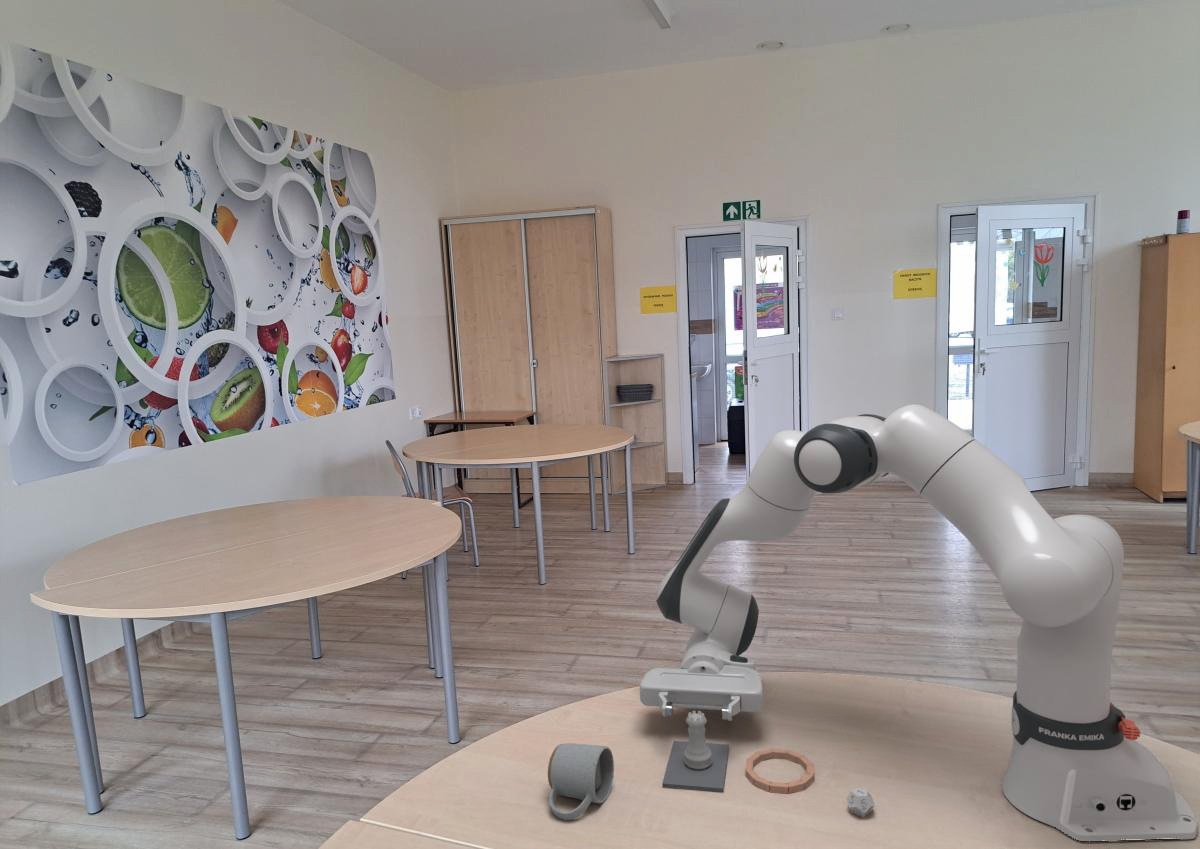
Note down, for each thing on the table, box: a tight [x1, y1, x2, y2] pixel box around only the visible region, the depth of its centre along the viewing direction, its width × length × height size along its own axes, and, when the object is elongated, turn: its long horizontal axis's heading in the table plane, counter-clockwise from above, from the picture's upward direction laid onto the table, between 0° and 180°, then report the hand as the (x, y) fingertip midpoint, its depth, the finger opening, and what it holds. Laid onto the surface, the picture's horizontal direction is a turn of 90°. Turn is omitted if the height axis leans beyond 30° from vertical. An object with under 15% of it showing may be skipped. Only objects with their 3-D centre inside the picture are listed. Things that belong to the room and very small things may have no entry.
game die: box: [846, 786, 875, 818], centre depth 111 cm, size 4×4×3 cm
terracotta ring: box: [745, 748, 815, 794], centre depth 121 cm, size 10×10×1 cm
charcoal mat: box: [661, 740, 730, 793], centre depth 124 cm, size 9×12×1 cm
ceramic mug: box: [547, 742, 615, 821], centre depth 117 cm, size 11×8×8 cm
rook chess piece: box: [684, 710, 713, 770], centre depth 123 cm, size 4×4×8 cm
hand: (696, 714), depth 126 cm, fingers open, 8 cm apart
